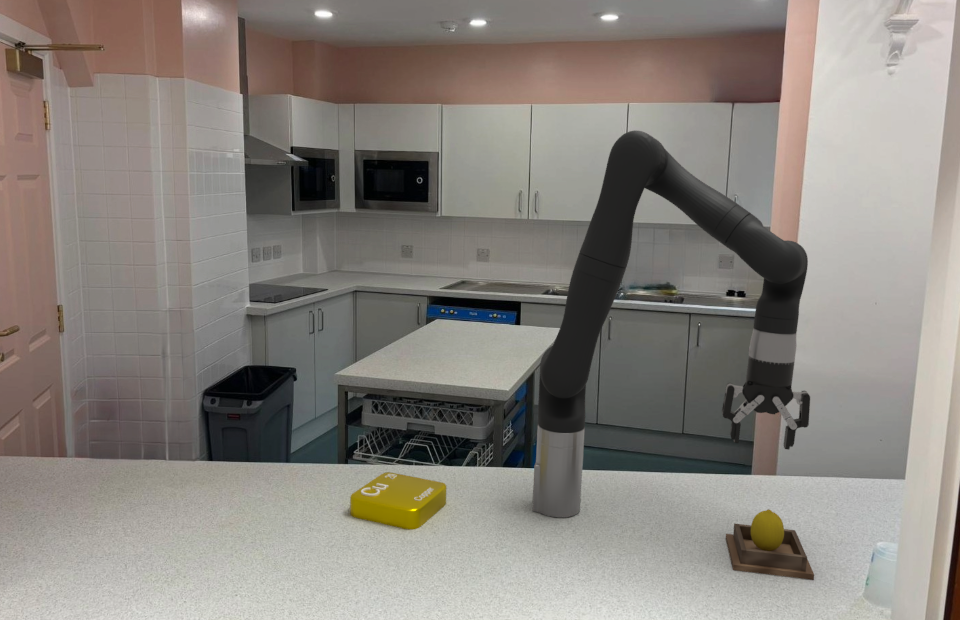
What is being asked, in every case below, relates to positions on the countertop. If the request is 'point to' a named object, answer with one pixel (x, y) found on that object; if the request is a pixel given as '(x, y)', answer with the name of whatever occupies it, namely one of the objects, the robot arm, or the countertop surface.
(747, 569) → the lemon stand
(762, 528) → the lemon
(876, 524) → the countertop surface
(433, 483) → the element tile
